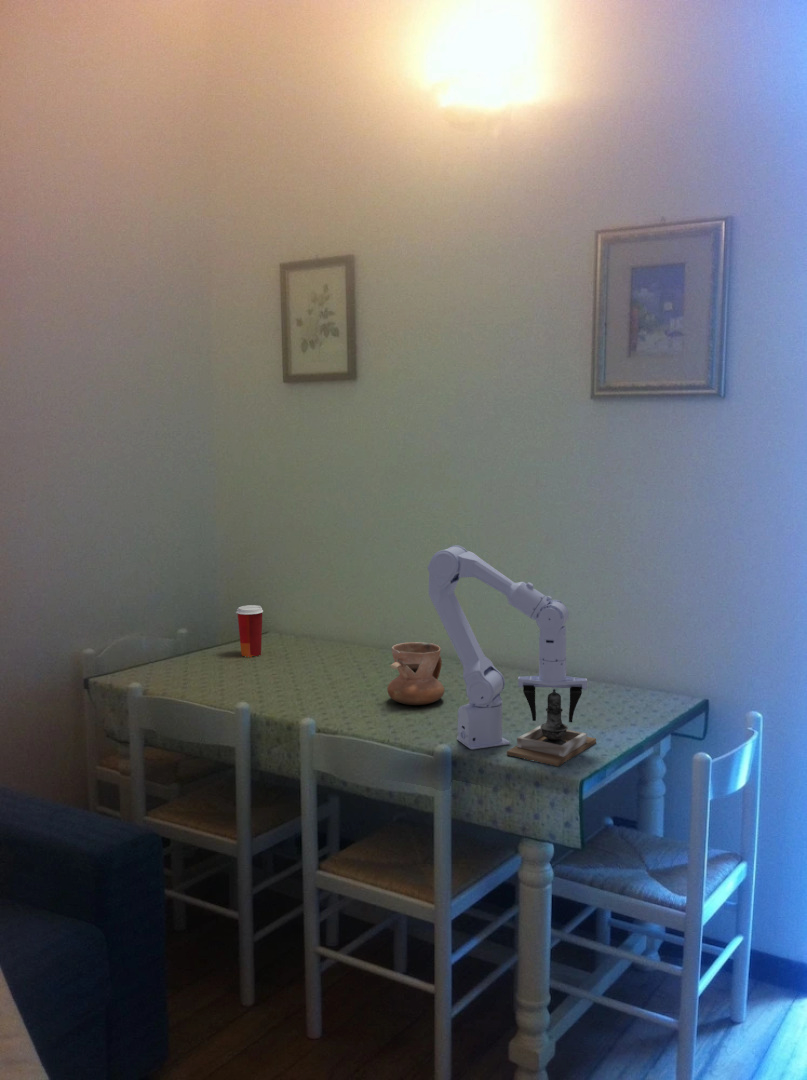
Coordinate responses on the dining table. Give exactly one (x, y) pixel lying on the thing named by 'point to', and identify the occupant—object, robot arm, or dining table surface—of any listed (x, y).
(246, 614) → the coffee cup
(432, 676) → the ceramic jug
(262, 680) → the dining table surface
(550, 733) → the salt shaker
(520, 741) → the board
